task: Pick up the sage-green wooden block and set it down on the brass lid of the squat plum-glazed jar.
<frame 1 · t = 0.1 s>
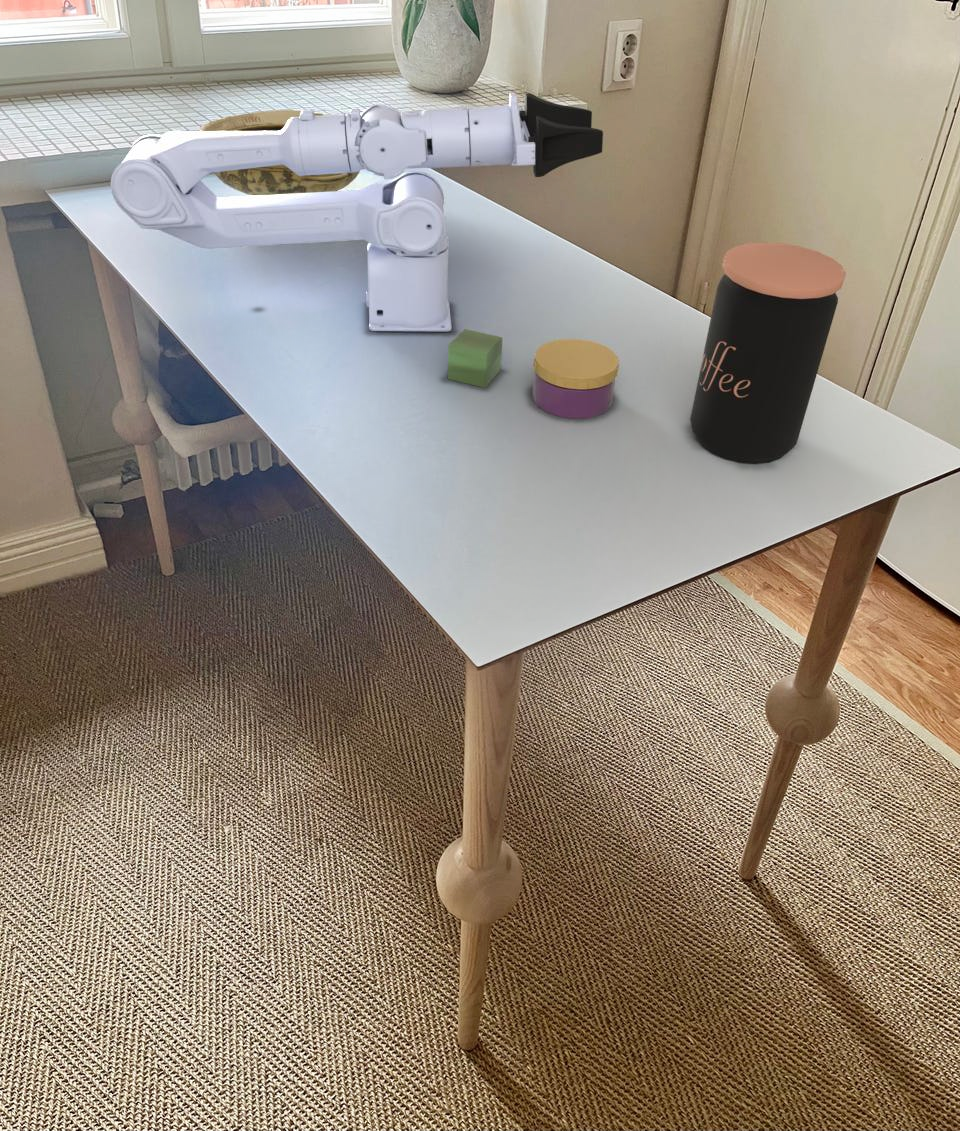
hand: (596, 131, 104), 22 cm above the table, tool horizontal, fingers open, 7 cm apart
coffee jar: (740, 440, 98), on the table
ceramic bowl: (290, 203, 145), on the table
jar: (572, 398, 102), on the table
block: (474, 374, 106), on the table
lid: (576, 361, 100), point 4 cm above the table, screwed on, not yet turned
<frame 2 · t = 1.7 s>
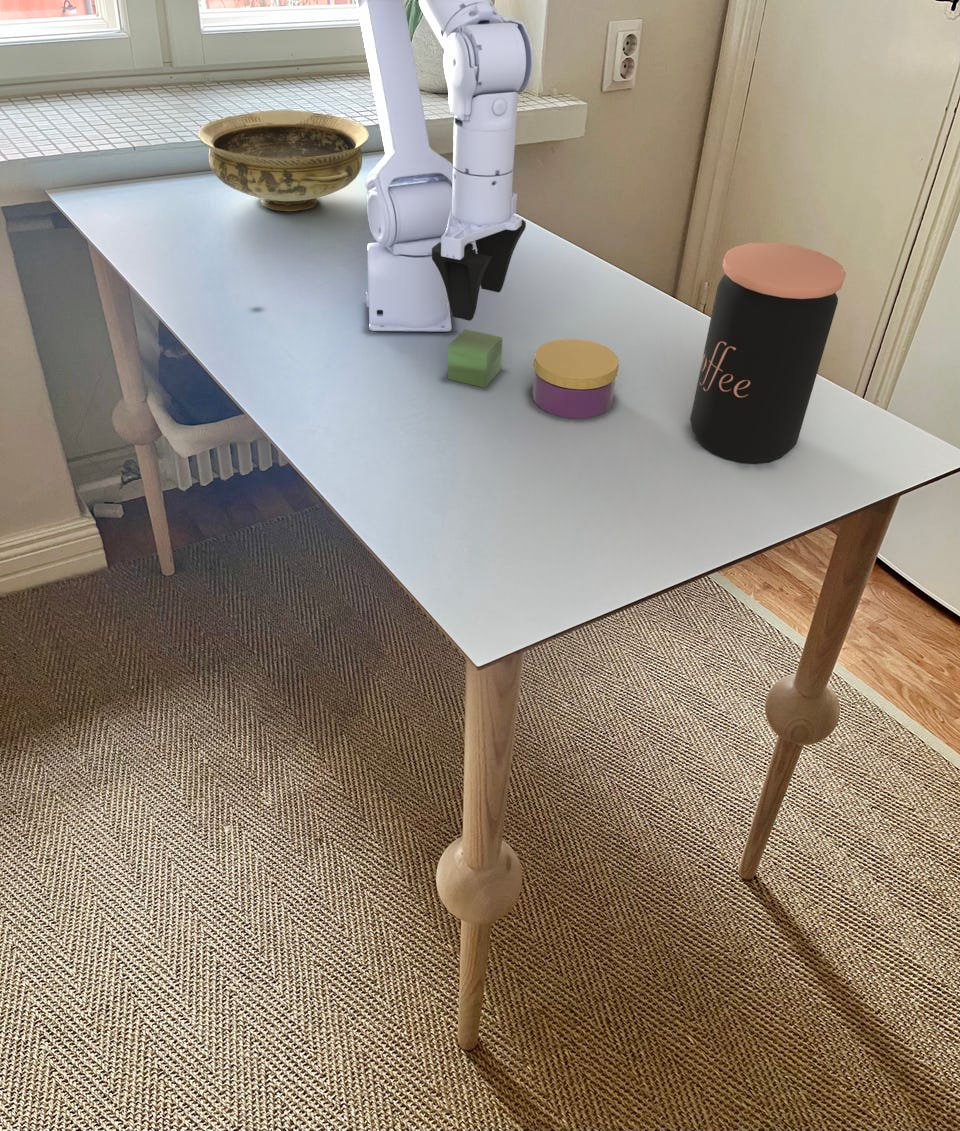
hand: (477, 303, 100), 8 cm above the table, tool pointing down, fingers open, 7 cm apart
nothing on the table moved.
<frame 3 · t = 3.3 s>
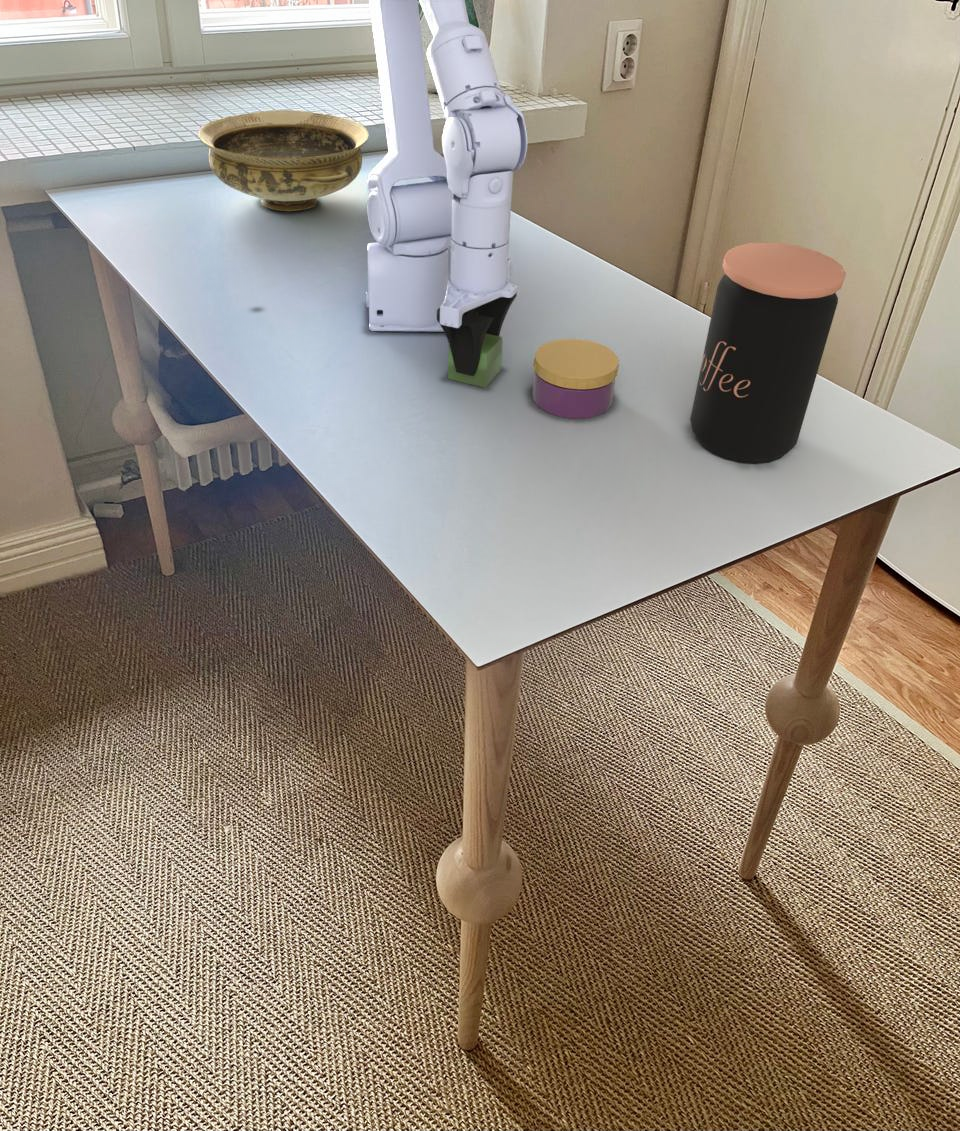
hand: (474, 363, 105), 1 cm above the table, tool pointing down, fingers closed on block, 4 cm apart
block: (474, 374, 106), on the table, touching gripper
everything else where it was.
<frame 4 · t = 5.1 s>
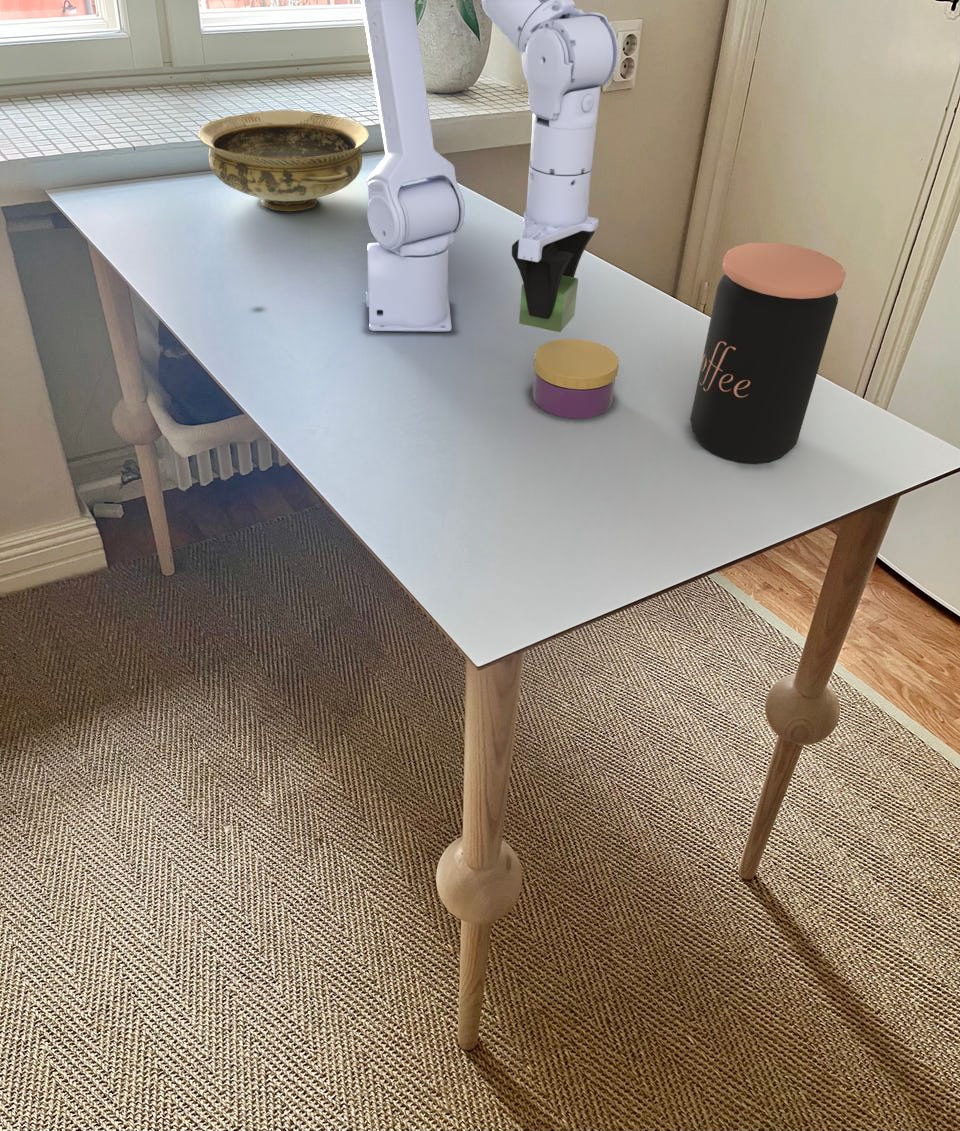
hand: (548, 306, 97), 9 cm above the table, tool pointing down, fingers closed on block, 4 cm apart
block: (546, 319, 98), point 8 cm above the table, touching gripper
everything else where it was.
when the fingers open (6 cm above the table, at t = 6.9 s): block stays where it is, resting on lid.
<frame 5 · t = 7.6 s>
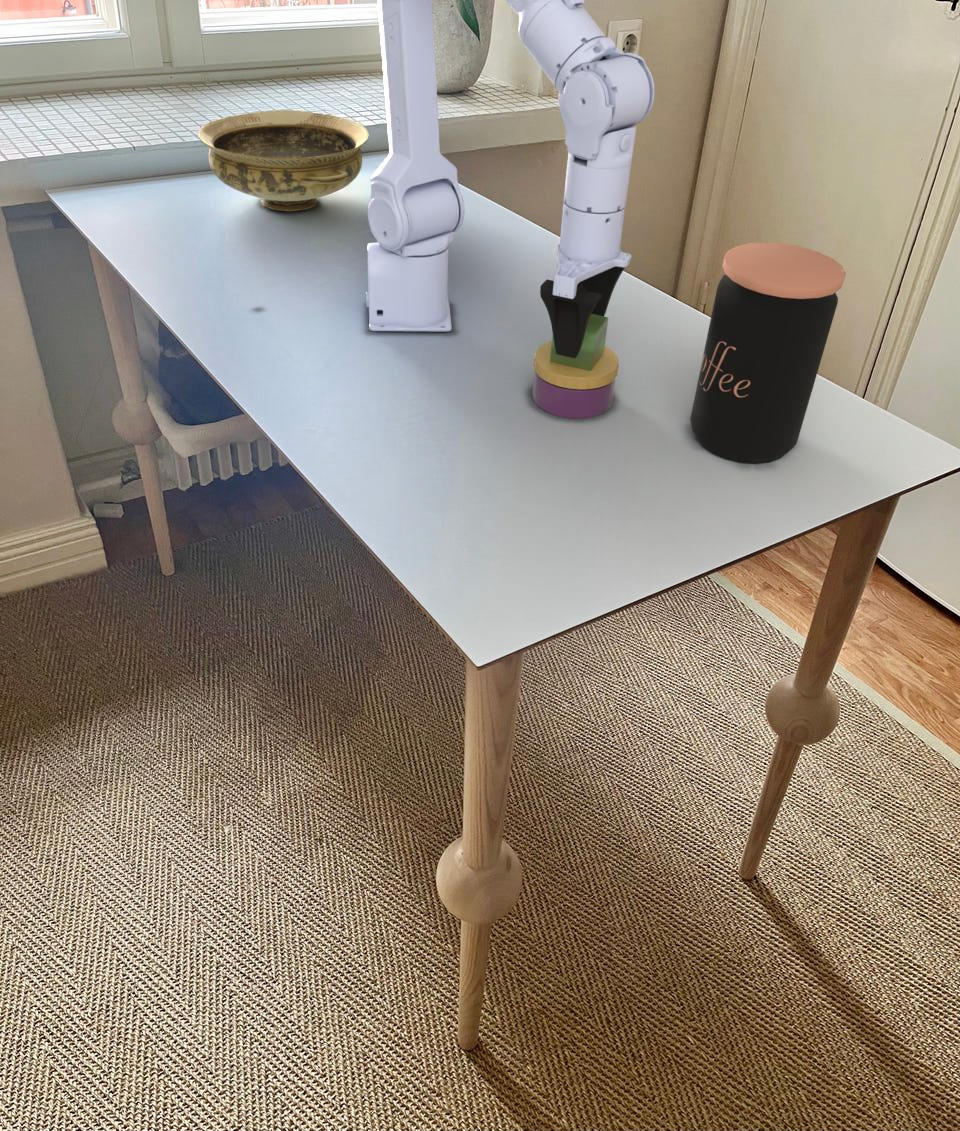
hand: (578, 339, 98), 7 cm above the table, tool pointing down, fingers open, 7 cm apart
block: (577, 357, 100), point 5 cm above the table, touching lid
lid: (576, 361, 100), point 4 cm above the table, screwed on, not yet turned, touching block
everything else where it was.
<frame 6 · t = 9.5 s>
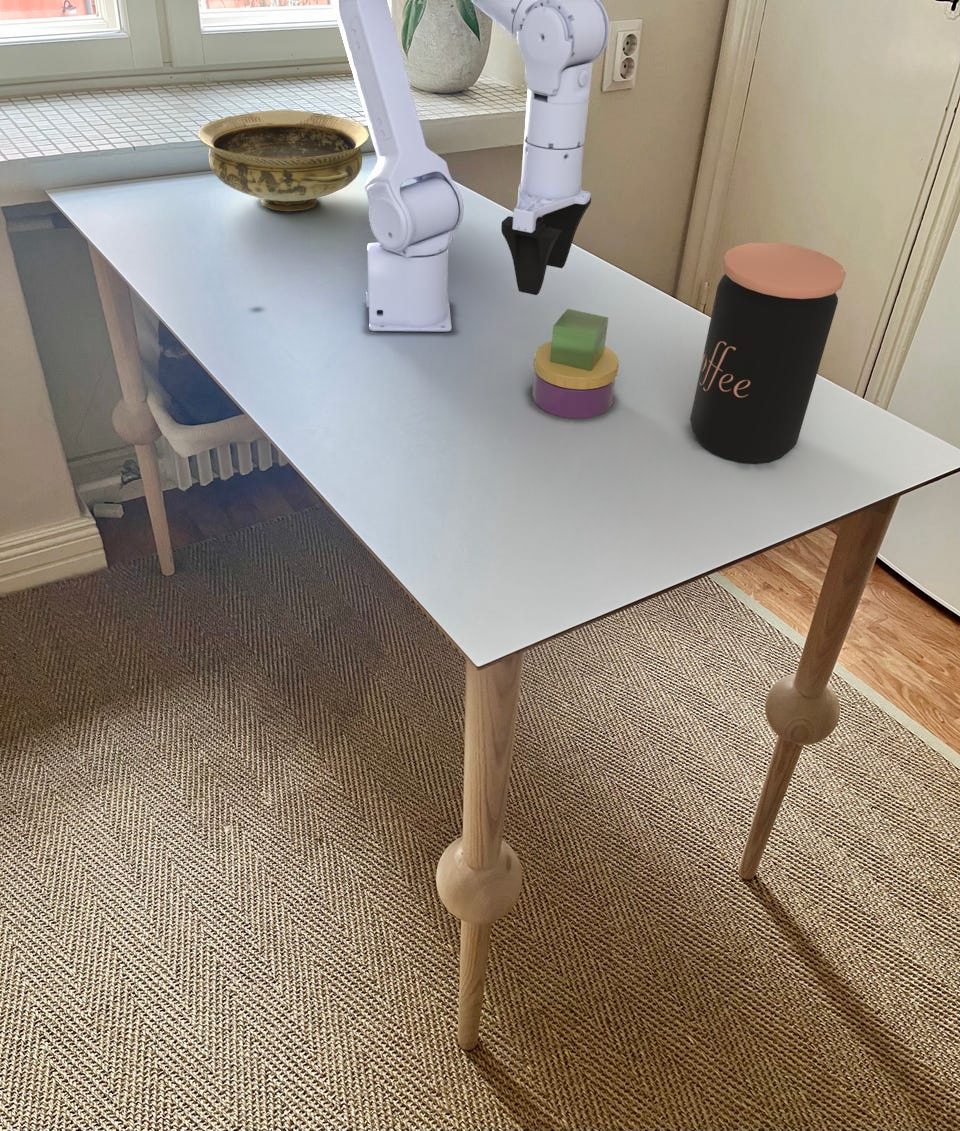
hand: (541, 278, 101), 10 cm above the table, tool pointing down, fingers open, 7 cm apart
nothing on the table moved.
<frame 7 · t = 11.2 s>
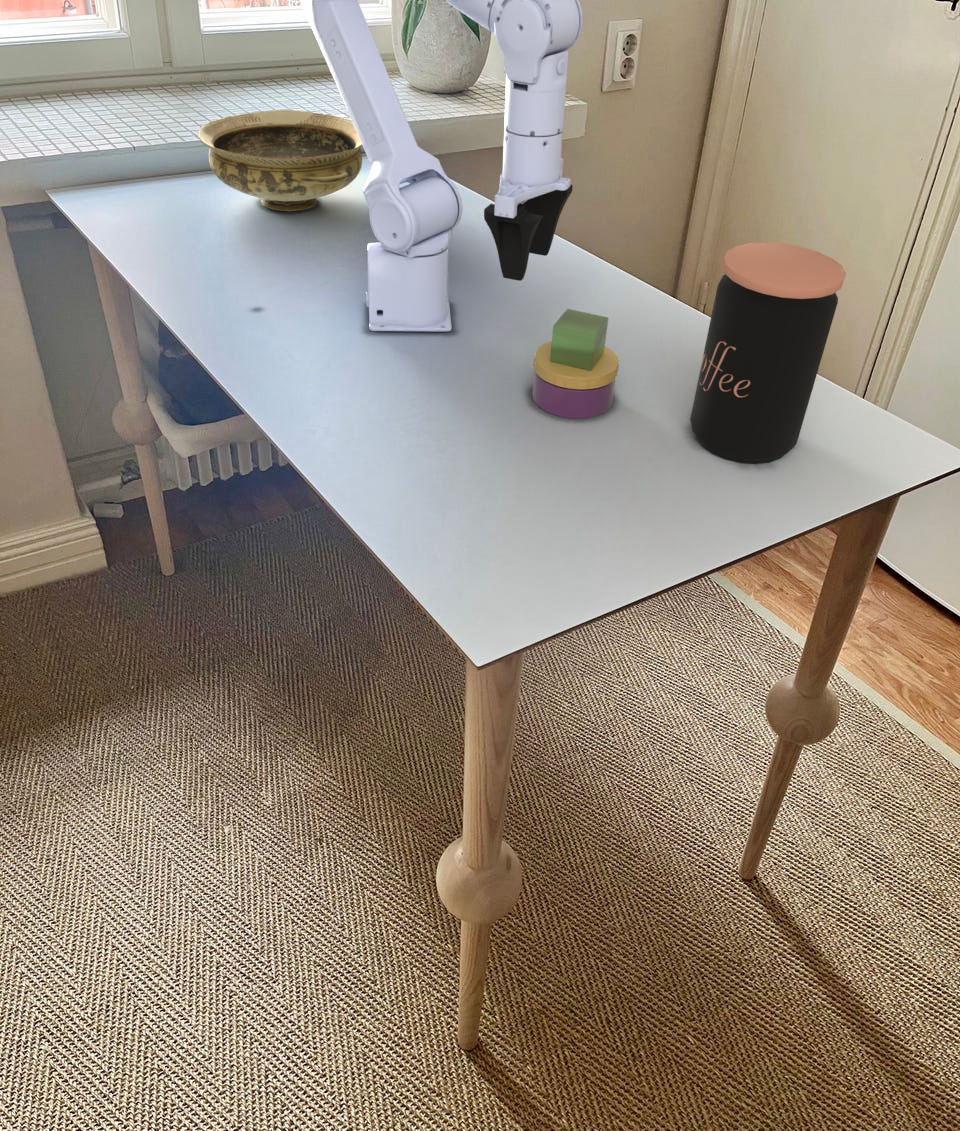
hand: (526, 265, 103), 10 cm above the table, tool pointing down, fingers open, 7 cm apart
nothing on the table moved.
at the end: block 0.0 cm off-centre on the jar, point 4.7 cm above the jar's base; block tilted 0°; the gripper is holding nothing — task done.
